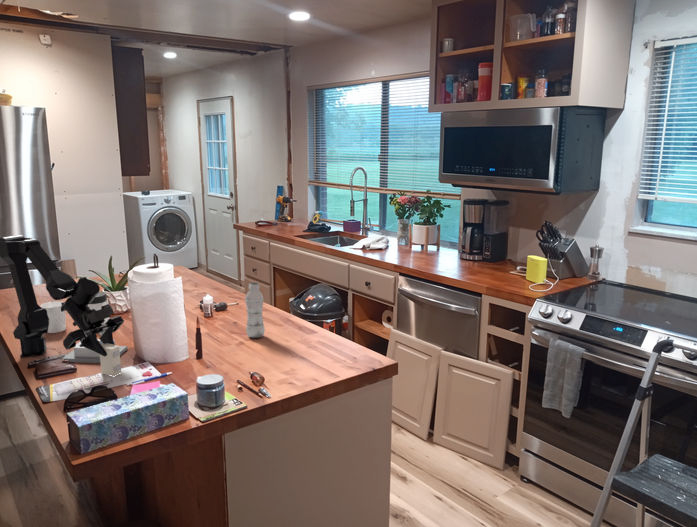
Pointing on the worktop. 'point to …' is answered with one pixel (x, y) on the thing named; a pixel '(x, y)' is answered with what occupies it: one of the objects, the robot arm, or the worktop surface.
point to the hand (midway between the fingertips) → (110, 353)
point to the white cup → (55, 316)
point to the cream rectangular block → (110, 360)
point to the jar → (99, 303)
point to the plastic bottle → (254, 311)
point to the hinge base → (88, 359)
